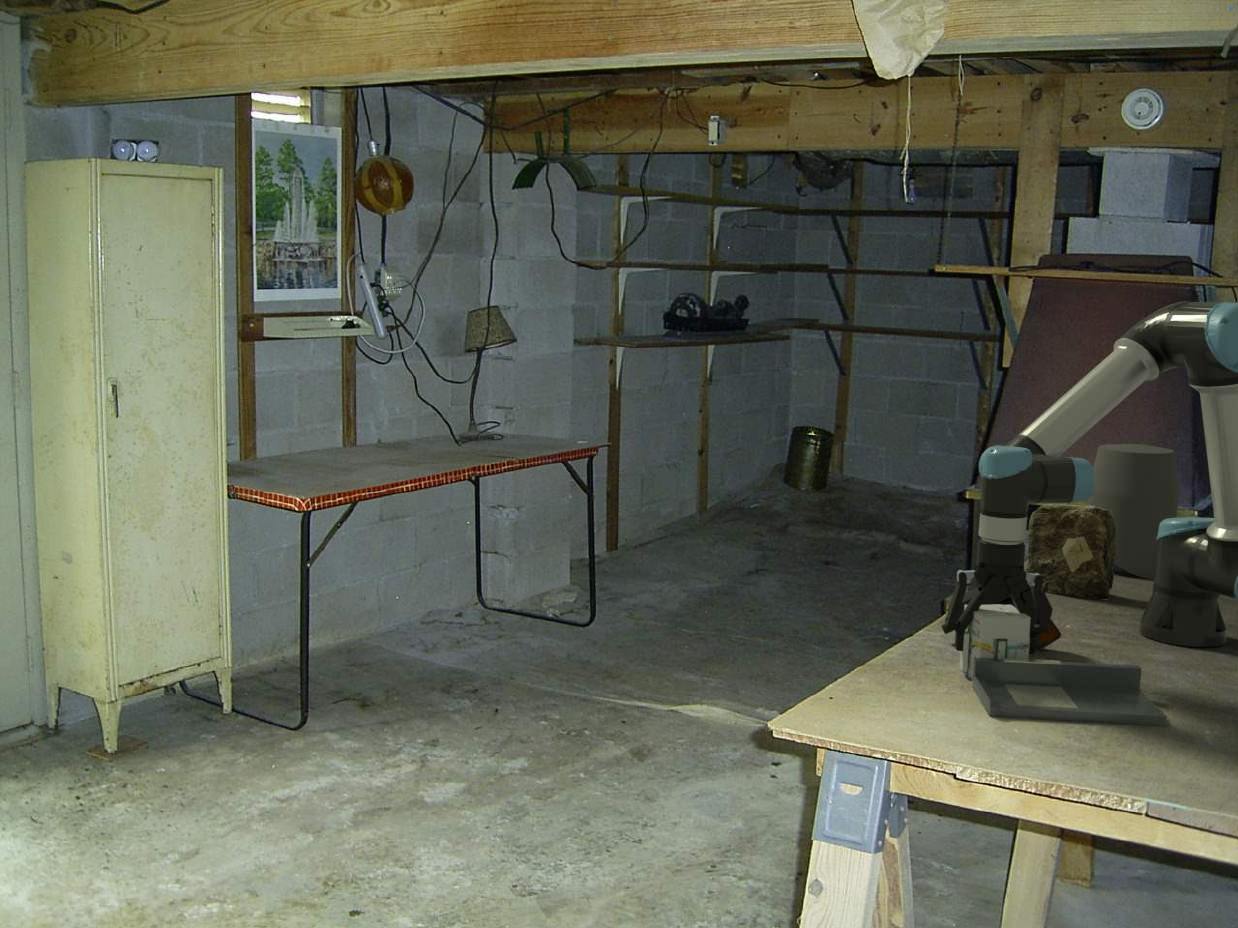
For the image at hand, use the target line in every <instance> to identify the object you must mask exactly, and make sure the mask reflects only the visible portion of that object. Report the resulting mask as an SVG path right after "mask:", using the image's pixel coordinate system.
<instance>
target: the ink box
mask: <svg viewBox="0 0 1238 928" xmlns="http://www.w3.org/2000/svg"><path fill="white" fill-rule="evenodd" d="M966 607H967V605H964V610H965V609H966ZM1030 619H1031V618H1030V617H1029V616H1028V615H1026V614H1020V613H1019V611H1018V610H1017V609H1016V608H1015V607H1014V606H1012V605H1001V604H992V605H981V606H980V608H979V609H978V611H977V612H976V611H975V612H974V617H973V619H972V621H971V622H970V624H969V625H968V627H967V629H966V630H967V631H968V633H969V649H968V664H967V672H963V673H964V674H966V675H967V676H968V677H969V678H970V679H971V680H973V665H974V658H992V659H1002V658H1016V659H1029V658H1028V650H1029V634H1030ZM959 669H960V670H961V668H960V667H959Z"/></svg>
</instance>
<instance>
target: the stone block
mask: <svg viewBox="0 0 1238 928" xmlns="http://www.w3.org/2000/svg"><path fill="white" fill-rule="evenodd" d="M1027 537H1028V539H1027V540H1028V542H1027V543H1028V544H1027V547H1028V548H1027V560H1028V562H1027V567H1026V570H1025V572H1026V571H1029V572H1030V573H1032V574H1033V573H1035V572H1037V573H1039V574H1040V575H1041V576H1042V577H1043V584H1042V588H1043V590H1044V592H1045V593H1049V594H1057V593H1059V595H1061V594H1063V595H1062V596H1065V595H1066V596H1065V597H1071V596H1074V597H1073V598H1078V597H1081V598H1080V599H1089V598H1093V599H1092V600H1097V599H1107V600H1106V601H1110V600H1111V598H1110V590H1112V588H1113V586H1114V585H1113V584H1114V578H1115V575H1114V571H1115V564H1114V563H1115V554H1116V549H1115V548H1116V542H1115V537H1116V524H1115V519H1114V515H1113V513H1112V511H1110V510H1107V509H1103V508H1099V507H1095V506H1086V505H1074V504H1067V503H1055V504H1054V503H1047V504H1044V505H1043V504H1042V505H1041V506H1039V507H1038V508H1037V509H1036V510H1034V511H1033V512H1032V514H1031V516H1030V518H1029V523H1028V536H1027ZM1094 598H1095V599H1094Z"/></svg>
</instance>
